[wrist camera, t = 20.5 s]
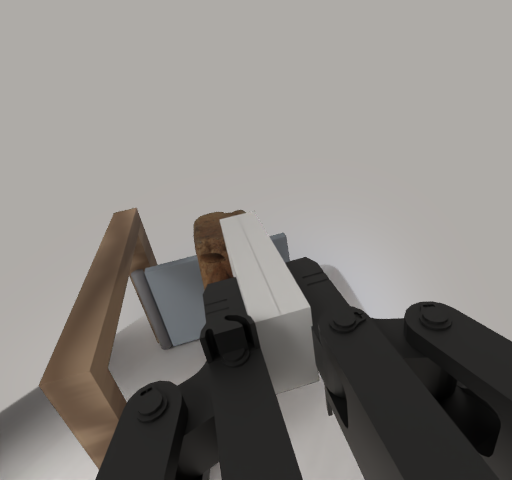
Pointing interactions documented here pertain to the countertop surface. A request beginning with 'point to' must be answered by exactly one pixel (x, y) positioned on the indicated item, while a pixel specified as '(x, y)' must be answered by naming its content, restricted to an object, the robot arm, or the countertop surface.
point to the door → (180, 296)
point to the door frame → (97, 338)
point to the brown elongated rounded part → (212, 247)
